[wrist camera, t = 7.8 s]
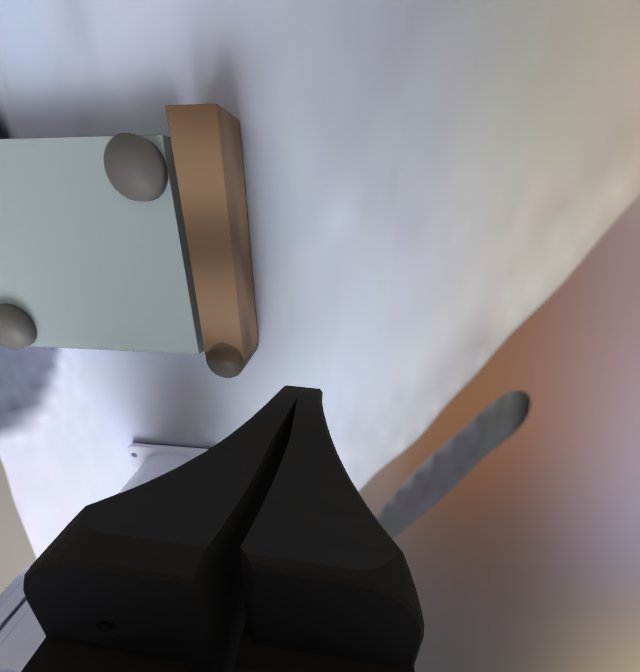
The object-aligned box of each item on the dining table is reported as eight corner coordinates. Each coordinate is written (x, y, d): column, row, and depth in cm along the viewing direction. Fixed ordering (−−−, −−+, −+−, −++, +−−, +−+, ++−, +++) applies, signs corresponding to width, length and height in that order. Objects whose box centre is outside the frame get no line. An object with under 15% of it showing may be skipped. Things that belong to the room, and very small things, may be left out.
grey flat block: (215, 338, 22) (194, 358, 19) (38, 331, 24) (-6, 348, 21) (187, 143, 18) (154, 132, 15) (-32, 149, 19) (-99, 139, 16)
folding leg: (259, 357, 22) (245, 378, 20) (226, 355, 23) (208, 376, 20) (239, 120, 17) (215, 103, 14) (196, 121, 17) (165, 105, 14)
